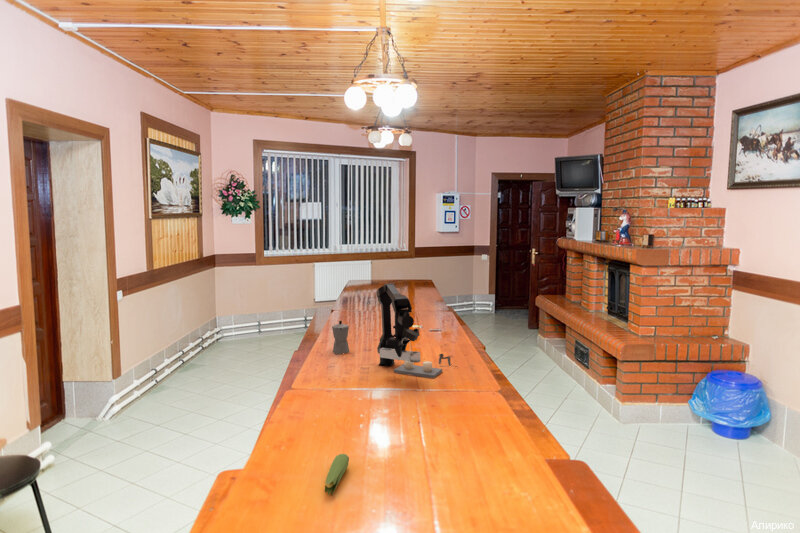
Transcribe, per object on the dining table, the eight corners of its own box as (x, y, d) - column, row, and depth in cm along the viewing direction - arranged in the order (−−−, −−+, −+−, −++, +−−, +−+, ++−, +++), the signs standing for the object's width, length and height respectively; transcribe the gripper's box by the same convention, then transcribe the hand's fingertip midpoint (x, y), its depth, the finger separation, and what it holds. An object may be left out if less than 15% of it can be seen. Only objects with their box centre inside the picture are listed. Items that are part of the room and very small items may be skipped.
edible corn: (353, 452, 161) (339, 447, 161) (335, 487, 141) (320, 482, 142) (348, 466, 162) (335, 461, 162) (331, 504, 142) (315, 498, 142)
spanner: (378, 357, 245) (378, 349, 244) (383, 355, 249) (383, 346, 249) (417, 363, 236) (417, 354, 235) (422, 360, 240) (422, 351, 240)
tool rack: (393, 372, 252) (393, 361, 252) (403, 366, 262) (403, 355, 262) (433, 378, 243) (433, 367, 242) (442, 371, 253) (442, 360, 252)
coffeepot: (349, 355, 284) (349, 322, 282) (332, 355, 283) (331, 323, 281) (348, 347, 299) (348, 317, 297) (332, 348, 298) (331, 317, 296)
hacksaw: (439, 355, 283) (439, 353, 282) (458, 356, 281) (458, 353, 281) (437, 369, 259) (437, 366, 259) (458, 369, 258) (458, 366, 257)
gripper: (407, 329, 229) (408, 363, 230) (424, 321, 245) (424, 353, 247) (385, 327, 234) (386, 360, 235) (403, 319, 250) (403, 350, 252)
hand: (401, 356), depth 242 cm, fingers closed on spanner, 3 cm apart
